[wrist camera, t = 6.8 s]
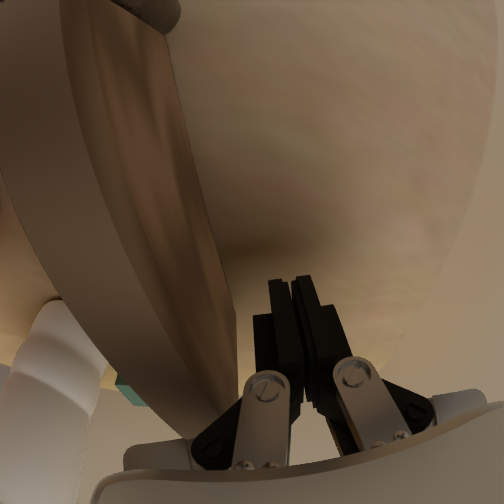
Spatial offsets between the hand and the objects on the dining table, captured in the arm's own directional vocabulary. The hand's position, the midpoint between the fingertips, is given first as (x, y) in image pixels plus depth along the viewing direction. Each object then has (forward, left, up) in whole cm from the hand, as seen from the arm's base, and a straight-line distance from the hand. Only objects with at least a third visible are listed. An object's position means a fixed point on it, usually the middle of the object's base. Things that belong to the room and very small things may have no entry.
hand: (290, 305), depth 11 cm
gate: (-3, -4, -5) cm, 7 cm away
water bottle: (+6, -17, -6) cm, 18 cm away
